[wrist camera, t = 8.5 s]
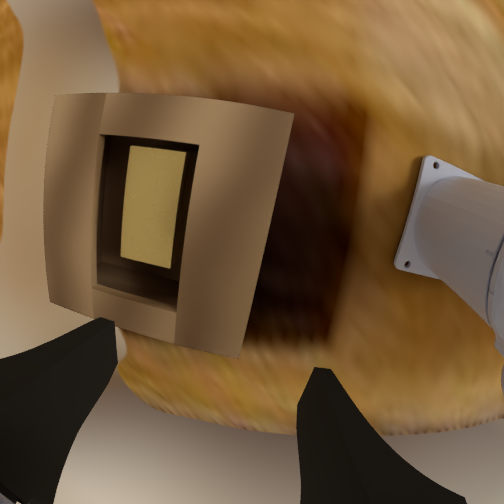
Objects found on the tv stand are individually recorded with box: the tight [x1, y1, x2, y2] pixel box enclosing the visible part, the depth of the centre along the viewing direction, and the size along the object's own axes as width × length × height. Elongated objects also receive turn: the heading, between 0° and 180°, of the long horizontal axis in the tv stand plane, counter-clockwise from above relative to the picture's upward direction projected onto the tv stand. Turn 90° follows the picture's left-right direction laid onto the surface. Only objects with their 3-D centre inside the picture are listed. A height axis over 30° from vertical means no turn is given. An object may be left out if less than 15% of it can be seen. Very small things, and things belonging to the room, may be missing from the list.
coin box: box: [44, 93, 294, 359], centre depth 16 cm, size 12×12×6 cm
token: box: [121, 146, 198, 269], centre depth 16 cm, size 3×6×4 cm, turn 169°
